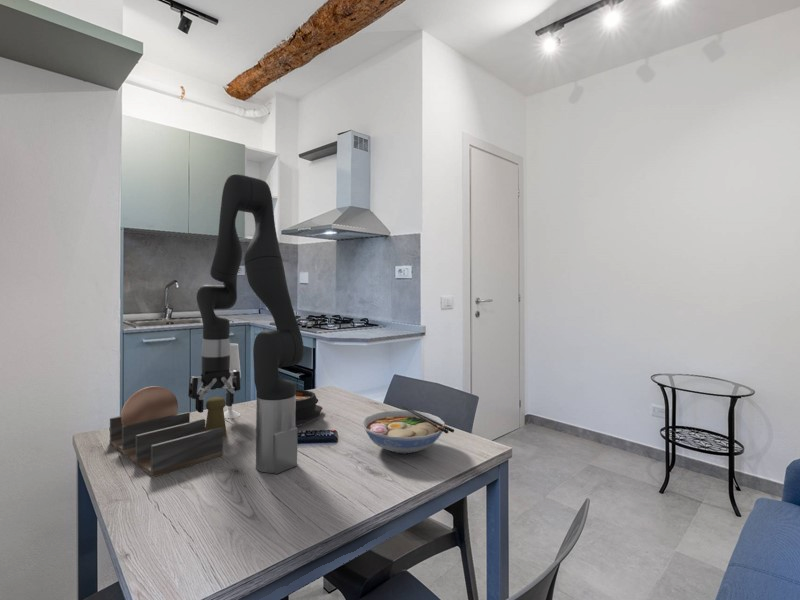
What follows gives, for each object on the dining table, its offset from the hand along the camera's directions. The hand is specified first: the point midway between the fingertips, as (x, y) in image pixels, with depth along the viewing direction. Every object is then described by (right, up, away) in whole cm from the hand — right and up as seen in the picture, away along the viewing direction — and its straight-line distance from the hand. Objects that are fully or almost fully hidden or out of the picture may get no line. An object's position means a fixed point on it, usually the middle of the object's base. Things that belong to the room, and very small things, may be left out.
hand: (215, 408), depth 119 cm
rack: (-9, -8, -11) cm, 16 cm away
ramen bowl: (+55, -9, -7) cm, 56 cm away
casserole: (+18, -8, +15) cm, 25 cm away
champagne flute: (-3, -7, +18) cm, 20 cm away
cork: (0, -8, 0) cm, 8 cm away
